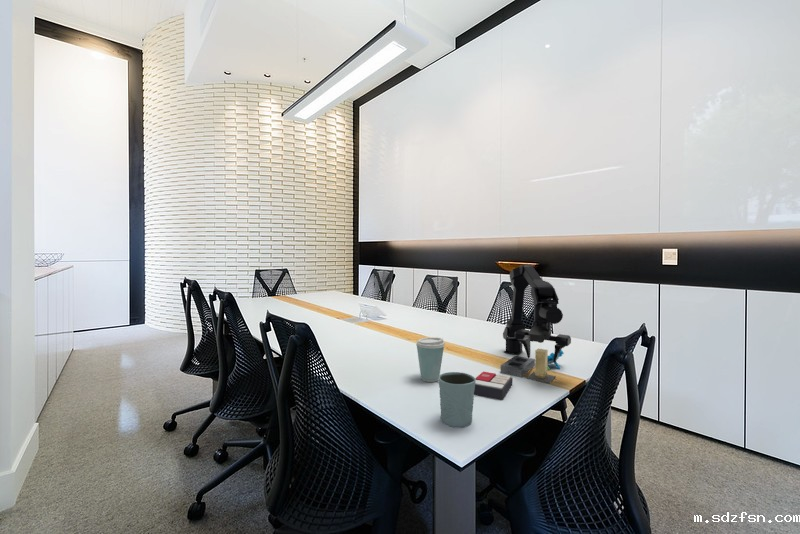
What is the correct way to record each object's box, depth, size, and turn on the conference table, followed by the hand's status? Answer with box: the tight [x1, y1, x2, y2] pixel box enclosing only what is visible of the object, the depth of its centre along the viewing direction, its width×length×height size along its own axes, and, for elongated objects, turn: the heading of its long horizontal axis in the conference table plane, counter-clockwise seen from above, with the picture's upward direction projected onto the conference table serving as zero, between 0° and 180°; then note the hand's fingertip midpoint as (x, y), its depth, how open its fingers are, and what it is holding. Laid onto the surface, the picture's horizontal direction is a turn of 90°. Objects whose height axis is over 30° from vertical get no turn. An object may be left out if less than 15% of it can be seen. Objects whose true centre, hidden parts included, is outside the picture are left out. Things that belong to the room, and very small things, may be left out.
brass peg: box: [534, 348, 549, 379], centre depth 131 cm, size 3×3×10 cm
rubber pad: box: [526, 371, 557, 384], centre depth 132 cm, size 8×8×1 cm
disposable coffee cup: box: [416, 336, 446, 383], centre depth 130 cm, size 11×11×15 cm
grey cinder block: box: [500, 355, 535, 378], centre depth 141 cm, size 8×16×3 cm, turn 142°
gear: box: [547, 349, 565, 371], centre depth 143 cm, size 11×6×10 cm
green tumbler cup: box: [438, 371, 476, 429], centre depth 99 cm, size 10×10×12 cm
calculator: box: [474, 371, 514, 401], centre depth 121 cm, size 11×4×15 cm
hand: (541, 360), depth 131 cm, fingers open, 9 cm apart
